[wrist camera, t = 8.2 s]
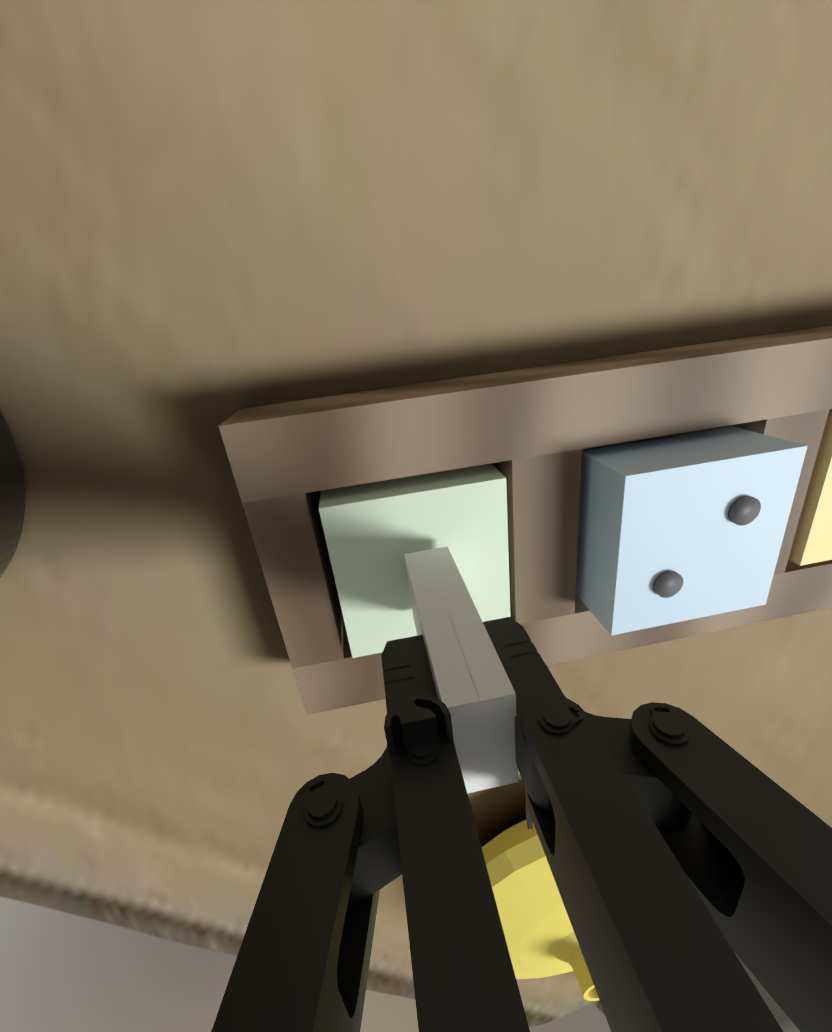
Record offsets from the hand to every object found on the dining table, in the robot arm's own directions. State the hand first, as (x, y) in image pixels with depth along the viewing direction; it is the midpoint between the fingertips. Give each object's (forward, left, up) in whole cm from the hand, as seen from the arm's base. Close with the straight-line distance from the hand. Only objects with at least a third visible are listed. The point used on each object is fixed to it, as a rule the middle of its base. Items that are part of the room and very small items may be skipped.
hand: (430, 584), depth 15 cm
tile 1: (0, 0, -4) cm, 4 cm away
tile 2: (+9, 0, -2) cm, 10 cm away
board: (+9, 0, -4) cm, 10 cm away
